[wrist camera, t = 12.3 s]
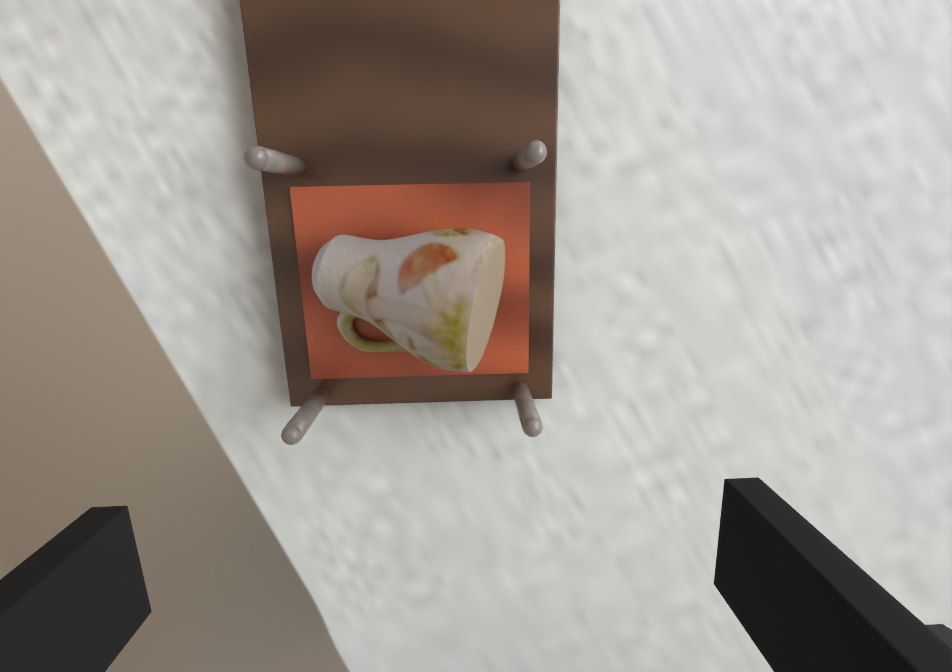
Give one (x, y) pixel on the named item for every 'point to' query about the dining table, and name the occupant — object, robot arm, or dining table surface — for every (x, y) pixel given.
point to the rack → (407, 177)
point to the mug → (416, 292)
